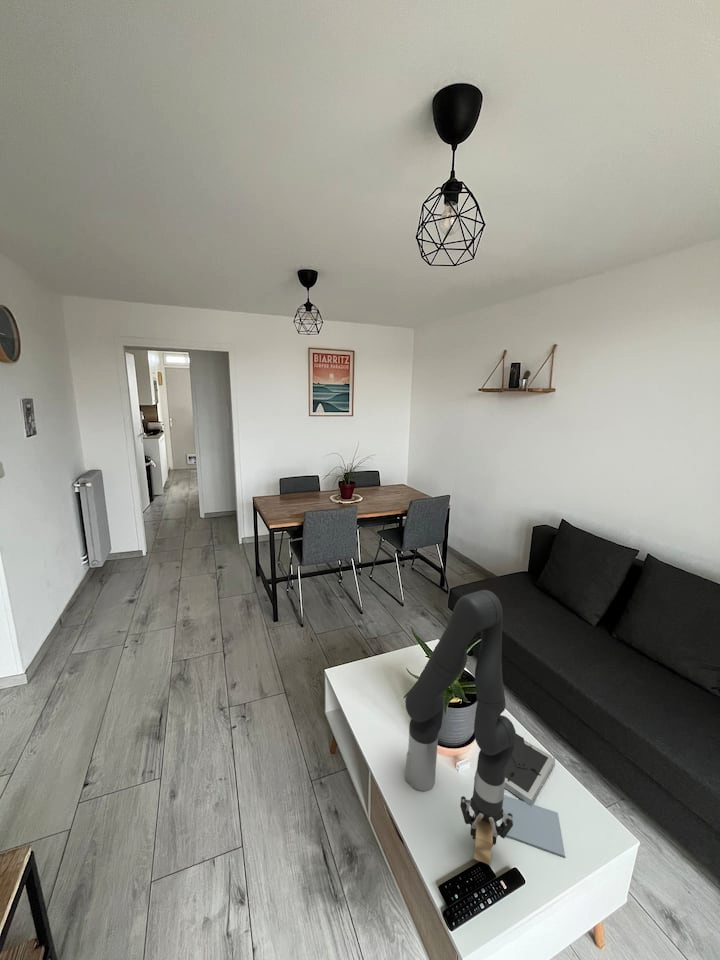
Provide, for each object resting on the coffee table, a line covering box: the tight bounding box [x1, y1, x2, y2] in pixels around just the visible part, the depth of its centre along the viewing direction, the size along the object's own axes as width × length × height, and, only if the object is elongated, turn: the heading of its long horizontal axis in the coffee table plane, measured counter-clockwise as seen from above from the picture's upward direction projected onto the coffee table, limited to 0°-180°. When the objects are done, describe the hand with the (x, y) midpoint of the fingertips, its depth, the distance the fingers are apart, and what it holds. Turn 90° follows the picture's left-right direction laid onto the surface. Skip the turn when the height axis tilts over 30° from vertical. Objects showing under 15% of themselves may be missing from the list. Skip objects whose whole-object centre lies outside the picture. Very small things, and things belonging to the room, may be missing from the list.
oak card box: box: [473, 821, 494, 866], centre depth 101 cm, size 4×10×7 cm, turn 160°
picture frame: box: [505, 733, 556, 805], centre depth 126 cm, size 16×3×21 cm
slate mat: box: [501, 794, 566, 858], centre depth 109 cm, size 16×12×1 cm
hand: (482, 839), depth 102 cm, fingers closed on oak card box, 4 cm apart
